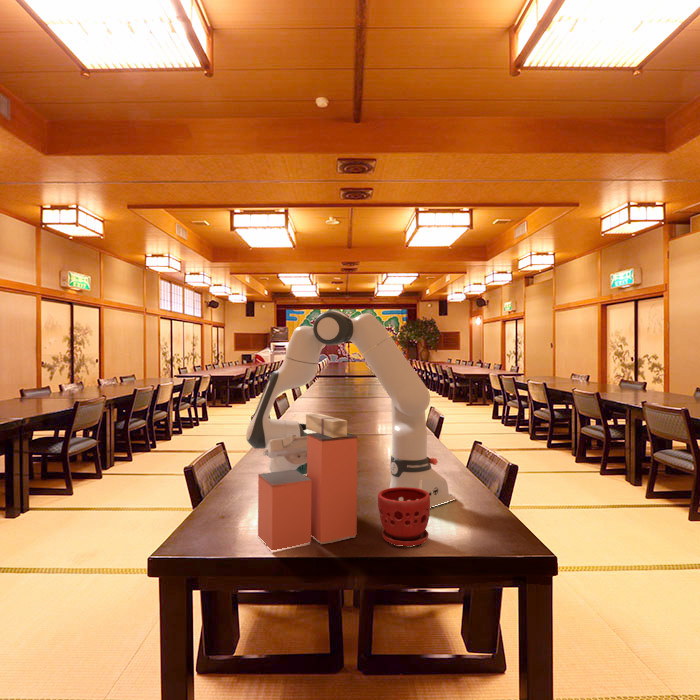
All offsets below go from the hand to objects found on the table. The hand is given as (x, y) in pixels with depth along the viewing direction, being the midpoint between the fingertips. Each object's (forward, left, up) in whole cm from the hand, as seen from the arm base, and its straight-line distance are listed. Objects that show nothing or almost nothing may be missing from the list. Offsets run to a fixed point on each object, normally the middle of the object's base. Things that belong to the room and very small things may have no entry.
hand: (309, 436), depth 132 cm
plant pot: (-15, +26, -23) cm, 38 cm away
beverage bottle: (-14, -40, -23) cm, 48 cm away
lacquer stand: (+6, +14, -23) cm, 28 cm away
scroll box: (0, +11, +3) cm, 11 cm away
